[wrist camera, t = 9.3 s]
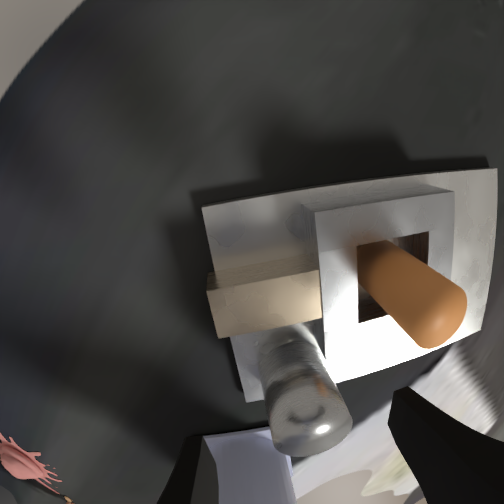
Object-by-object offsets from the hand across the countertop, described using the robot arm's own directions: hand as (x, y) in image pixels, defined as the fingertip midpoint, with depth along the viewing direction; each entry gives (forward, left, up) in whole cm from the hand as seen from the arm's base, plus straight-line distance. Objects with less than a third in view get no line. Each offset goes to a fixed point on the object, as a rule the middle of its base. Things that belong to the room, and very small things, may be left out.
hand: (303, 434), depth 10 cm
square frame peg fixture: (+2, -4, -9) cm, 10 cm away
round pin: (+2, -7, -9) cm, 12 cm away
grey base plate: (0, -8, -10) cm, 13 cm away
